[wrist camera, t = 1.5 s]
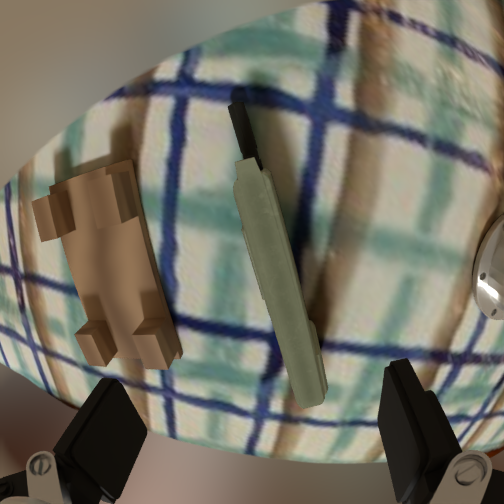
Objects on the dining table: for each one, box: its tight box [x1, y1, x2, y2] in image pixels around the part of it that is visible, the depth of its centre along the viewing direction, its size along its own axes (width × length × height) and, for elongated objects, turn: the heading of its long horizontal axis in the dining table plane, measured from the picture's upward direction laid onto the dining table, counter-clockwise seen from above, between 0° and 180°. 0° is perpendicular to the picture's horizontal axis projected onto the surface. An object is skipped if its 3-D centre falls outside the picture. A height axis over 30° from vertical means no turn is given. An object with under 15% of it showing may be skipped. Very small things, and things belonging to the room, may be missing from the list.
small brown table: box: [32, 159, 183, 370], centre depth 26 cm, size 10×20×4 cm, turn 10°
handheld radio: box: [228, 102, 328, 409], centre depth 23 cm, size 7×3×25 cm
